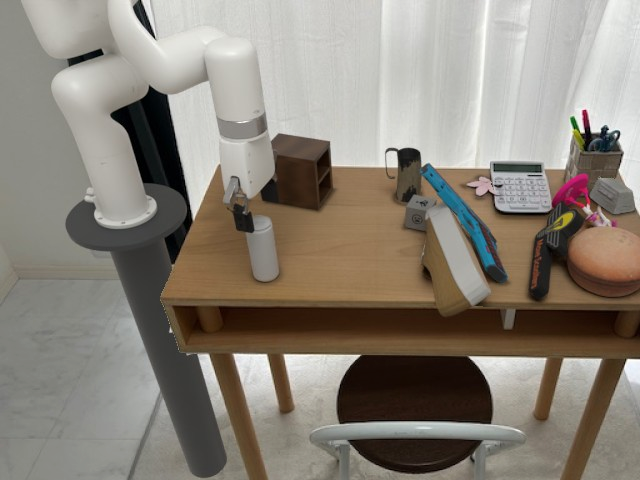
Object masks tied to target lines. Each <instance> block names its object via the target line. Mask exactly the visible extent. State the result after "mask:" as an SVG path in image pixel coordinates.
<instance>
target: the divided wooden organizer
mask: <svg viewBox="0 0 640 480" xmlns="http://www.w3.org/2000/svg"><path fill="white" fill-rule="evenodd" d="M270 140H271V145H272V150H277V160H276V163H277V169H276V175H277V181H276V182H277V188H278V195H279V202H278V203H277V204H280V205H285V206H291V207H297V208H302V209H308V210H313V211H319V210H320V209H321V208H322V206H323V205H324V203H325V202H326V201H327V199H328V198H329V196H330V195H331V194H332V192H333V191H334V183H333V182H334V181H333V165H332V164H333V163H332V151H331V149H332V148H331V141H330V140H325V139H318V138H312V137H306V136H299V135H294V134H287V133H281V132H278V133H277V134H276V135H275V136H274V137H273V138H272V139H270ZM274 182H275V181H274Z"/></svg>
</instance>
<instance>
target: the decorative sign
mask: <svg viewBox="0 0 640 480" xmlns="http://www.w3.org/2000/svg"><path fill="white" fill-rule="evenodd" d="M584 224H585V218H584V217H583V215H582V214H581V213H580V211H578V209H576V208H570V207H569V205H568V206H567V205H566V204H565V202H564V201H560V202H559V203H558V204H557V205H556V206H555V208H553V209H552V211H551V213H550V214H549V216H548V217H547V219H546V226H545V227H544V228H541V230H540V231H538V232H537V234H536V235H535V236H534V241H533V250H532V258H531V267H530V275H529V284H528V292H529V293H530V294H531V295H532V296H533V297H534V299H535V300H541V299H542V298H544V297H546V296H547V295H548V294H549V292H550V283H551V282H550V281H551V268H552V259H553V258H552V256H553V253H554V255H556V256H558V257H559V258H563V257H565V256H567V250H568V246H569V239H571V238H572V237H573V236H575V235H577V234H578V233H579V230H580V229H582V227H583V225H584Z"/></svg>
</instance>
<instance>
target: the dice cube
mask: <svg viewBox="0 0 640 480" xmlns="http://www.w3.org/2000/svg"><path fill="white" fill-rule="evenodd" d="M437 201H438V199H437V198H432V197H428V196H423V195H420V196H419V195H413V197H412V198H411V200H410V201H409V203H408V204H407V205H406V206H405V224H404V225H405V228H407V229H412V230H417V231H422V232H426V230H427V228H426V220H425V215H426V212H427V210H428V209H430V208H431V207H433V206H435V205H437V204H438V203H437Z"/></svg>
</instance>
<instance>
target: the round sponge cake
mask: <svg viewBox="0 0 640 480" xmlns="http://www.w3.org/2000/svg"><path fill="white" fill-rule="evenodd" d="M566 265H567V270H568V273H569V275H570V277H571V278H572V280H573V281H574V282H575V283H576V284H577V285H578V286H580V287H581V288H582V289H584V290H586V291H588V292H590V293H593V294H595V295H598V296H603V297H607V298H620V297H624V296H628V295H631V294H633V293H635V292H636V291H638V290H640V236H638V235H636V234H635V233H633V232H631V231H629V230H626V229H624V228H621V227H610V226H599V227H594V226H593V227H590V228H586V229H584V230H582V231H580V232H578V233H576V234H575V235H574V237H573V238H572V239H571V240H570V242H569V243H568V250H567V254H566Z"/></svg>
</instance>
